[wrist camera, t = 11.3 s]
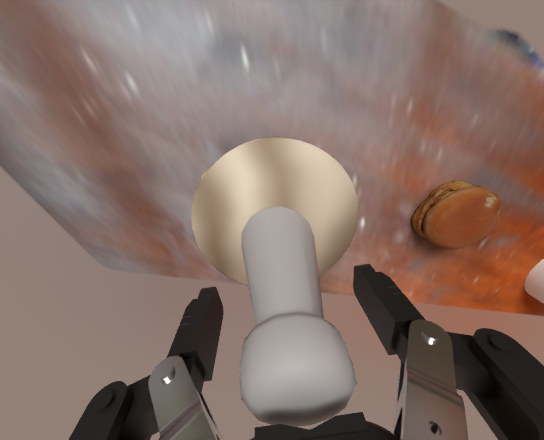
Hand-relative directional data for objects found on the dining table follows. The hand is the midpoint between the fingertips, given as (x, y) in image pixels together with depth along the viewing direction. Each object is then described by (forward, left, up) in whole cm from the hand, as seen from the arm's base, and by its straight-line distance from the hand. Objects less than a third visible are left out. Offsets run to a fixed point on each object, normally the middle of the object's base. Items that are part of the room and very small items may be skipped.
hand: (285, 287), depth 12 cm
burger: (+25, -7, -18) cm, 32 cm away
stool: (0, 0, -17) cm, 17 cm away
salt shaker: (0, 0, -8) cm, 8 cm away
